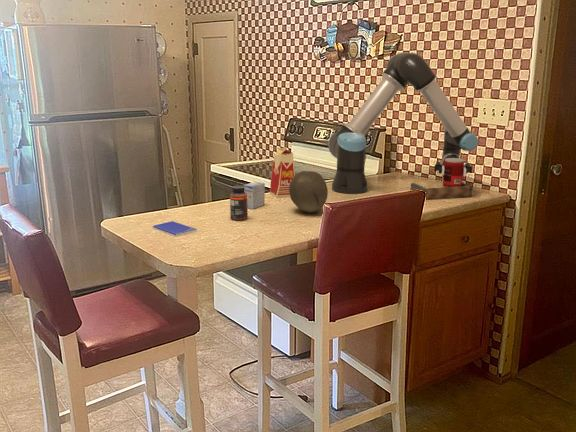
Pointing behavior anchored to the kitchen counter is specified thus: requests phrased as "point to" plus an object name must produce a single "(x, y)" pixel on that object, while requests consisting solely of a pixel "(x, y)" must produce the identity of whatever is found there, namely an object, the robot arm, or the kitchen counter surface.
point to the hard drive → (174, 228)
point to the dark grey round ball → (308, 191)
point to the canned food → (453, 172)
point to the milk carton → (282, 173)
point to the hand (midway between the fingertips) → (454, 172)
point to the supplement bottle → (238, 204)
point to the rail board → (445, 191)
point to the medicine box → (255, 194)
